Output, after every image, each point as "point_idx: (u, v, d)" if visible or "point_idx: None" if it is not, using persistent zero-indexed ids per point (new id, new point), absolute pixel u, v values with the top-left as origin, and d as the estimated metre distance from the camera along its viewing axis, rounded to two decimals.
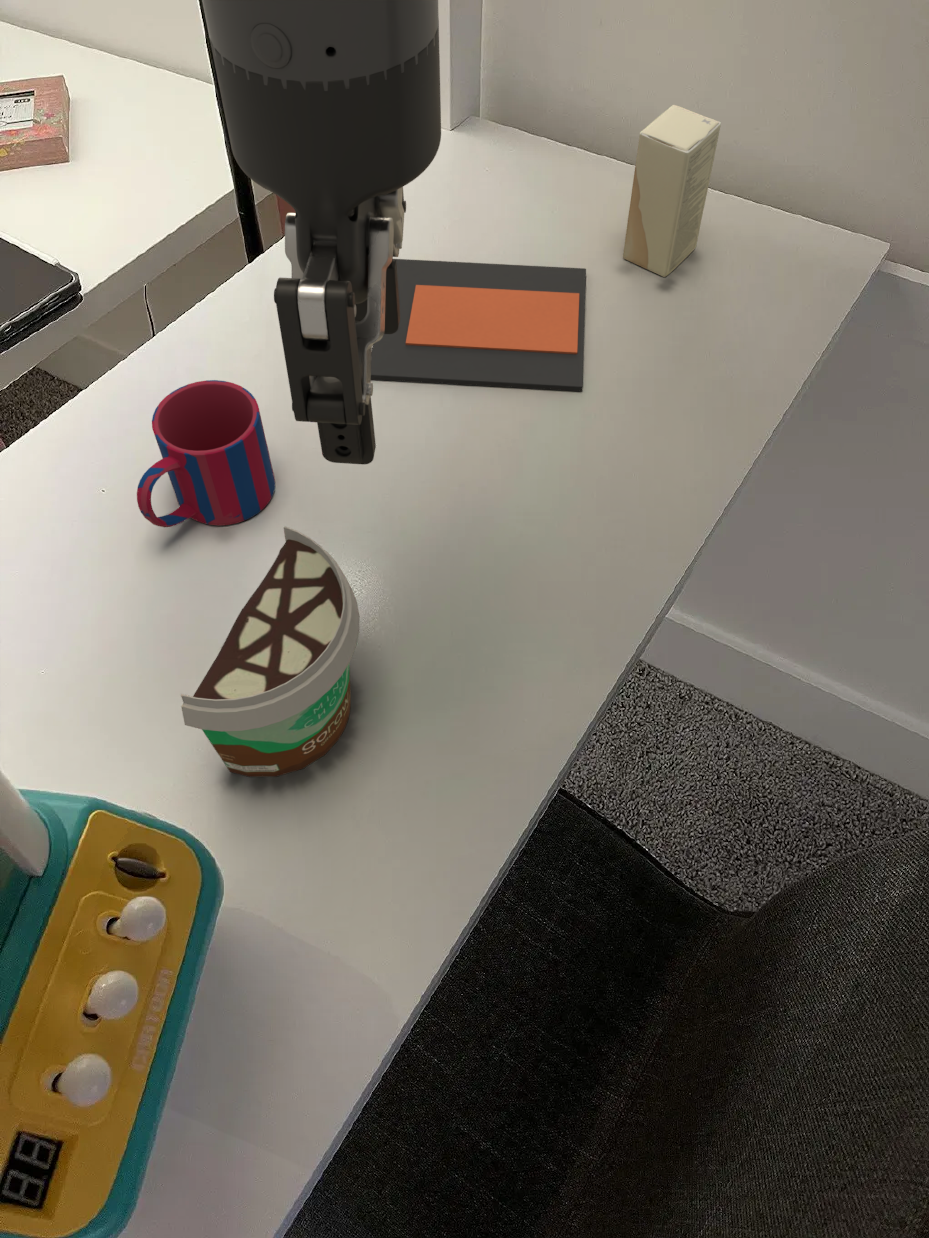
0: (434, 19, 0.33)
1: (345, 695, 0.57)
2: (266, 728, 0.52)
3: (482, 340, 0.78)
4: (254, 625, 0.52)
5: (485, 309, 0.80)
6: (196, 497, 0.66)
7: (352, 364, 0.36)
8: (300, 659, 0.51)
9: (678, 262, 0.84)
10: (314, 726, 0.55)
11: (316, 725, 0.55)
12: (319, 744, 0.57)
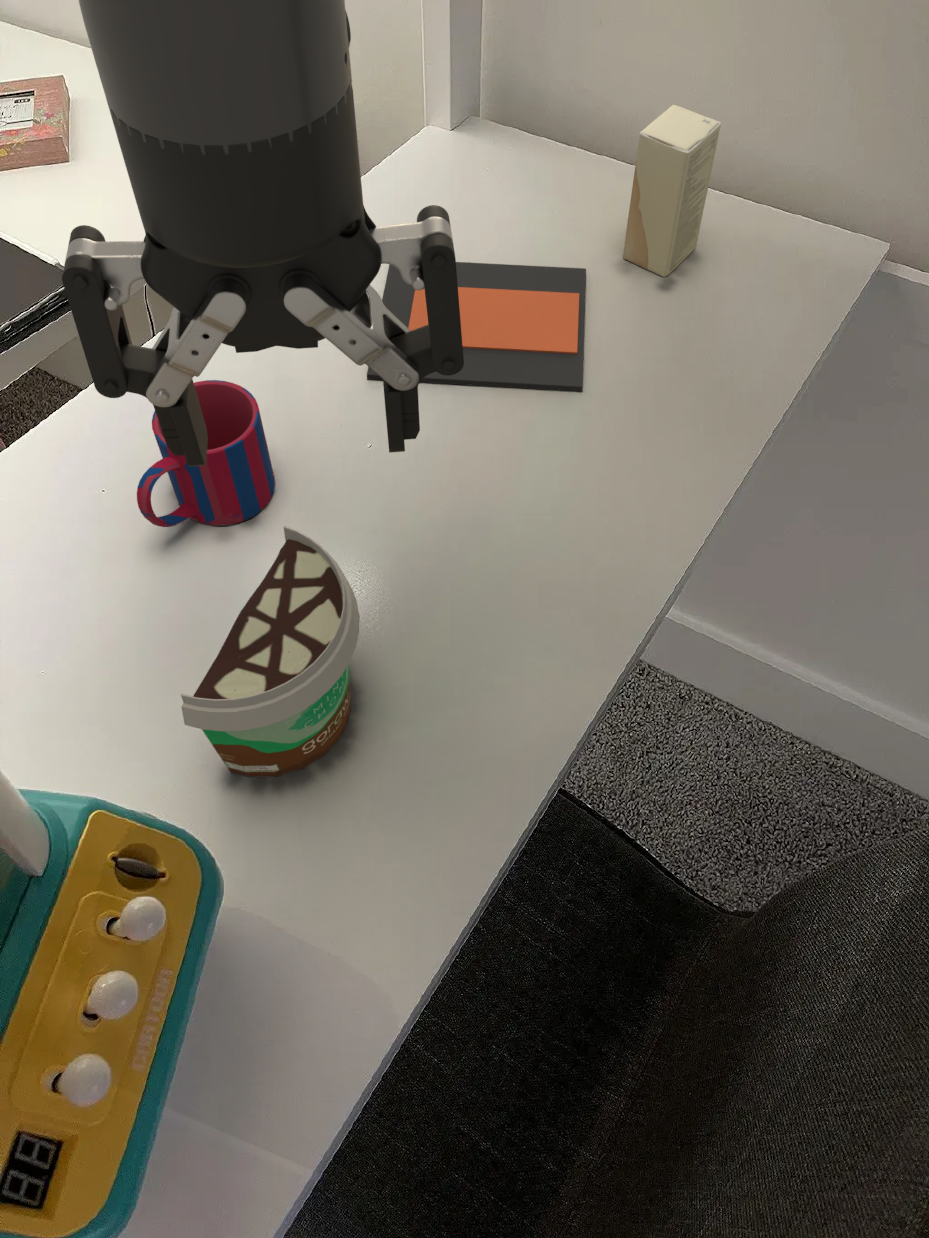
0: (202, 129, 0.29)
1: (345, 695, 0.57)
2: (266, 728, 0.52)
3: (482, 340, 0.78)
4: (254, 625, 0.52)
5: (485, 309, 0.80)
6: (196, 497, 0.66)
7: (81, 335, 0.37)
8: (300, 659, 0.51)
9: (678, 262, 0.84)
10: (314, 726, 0.55)
11: (316, 725, 0.55)
12: (319, 744, 0.57)
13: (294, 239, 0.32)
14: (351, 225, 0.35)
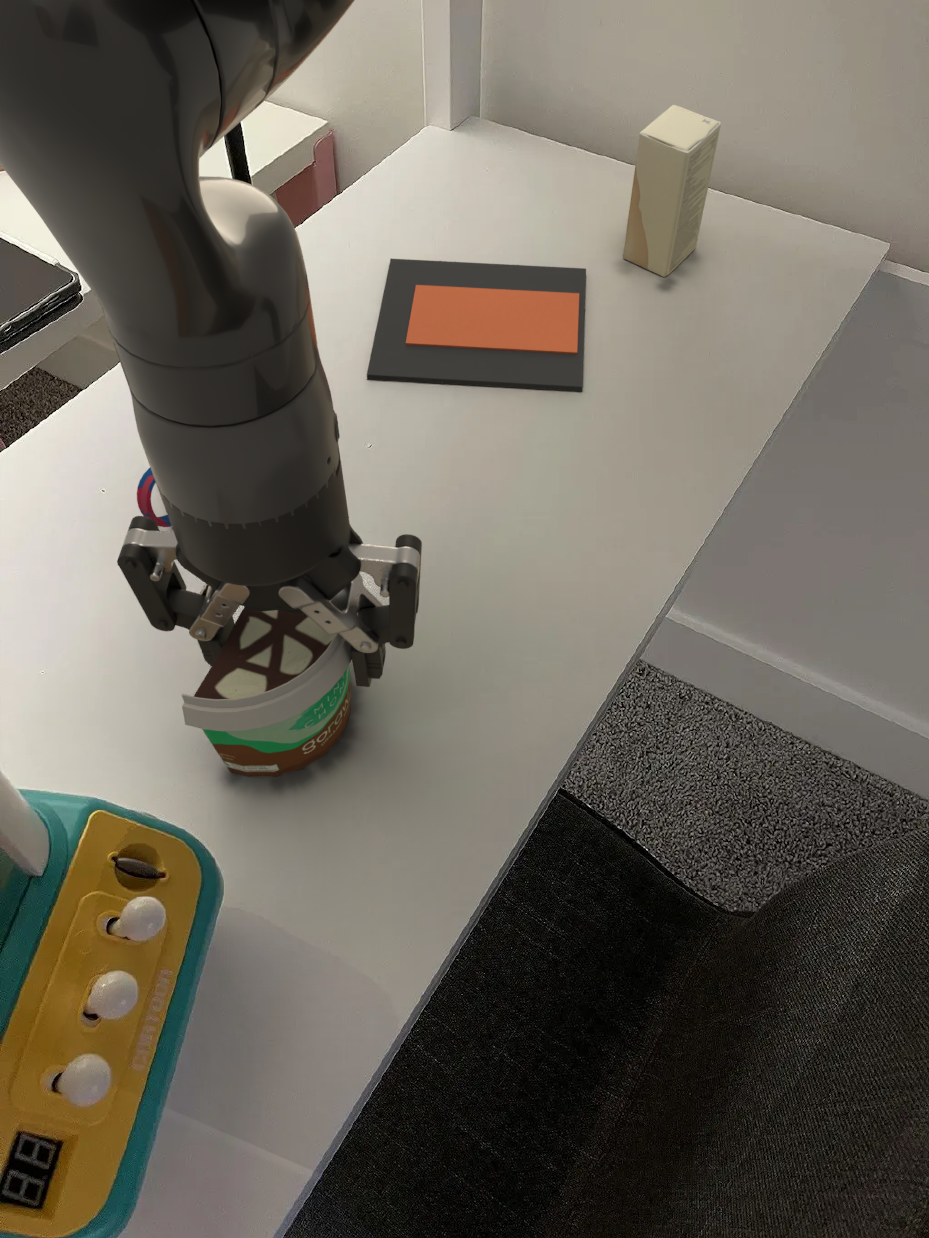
0: (209, 513, 0.39)
1: (345, 695, 0.57)
2: (266, 728, 0.52)
3: (482, 340, 0.78)
4: (255, 625, 0.52)
5: (485, 309, 0.80)
6: None
7: (136, 594, 0.48)
8: (301, 659, 0.51)
9: (678, 262, 0.84)
10: (314, 726, 0.55)
11: (316, 725, 0.55)
12: (319, 744, 0.57)
13: (279, 573, 0.42)
14: None
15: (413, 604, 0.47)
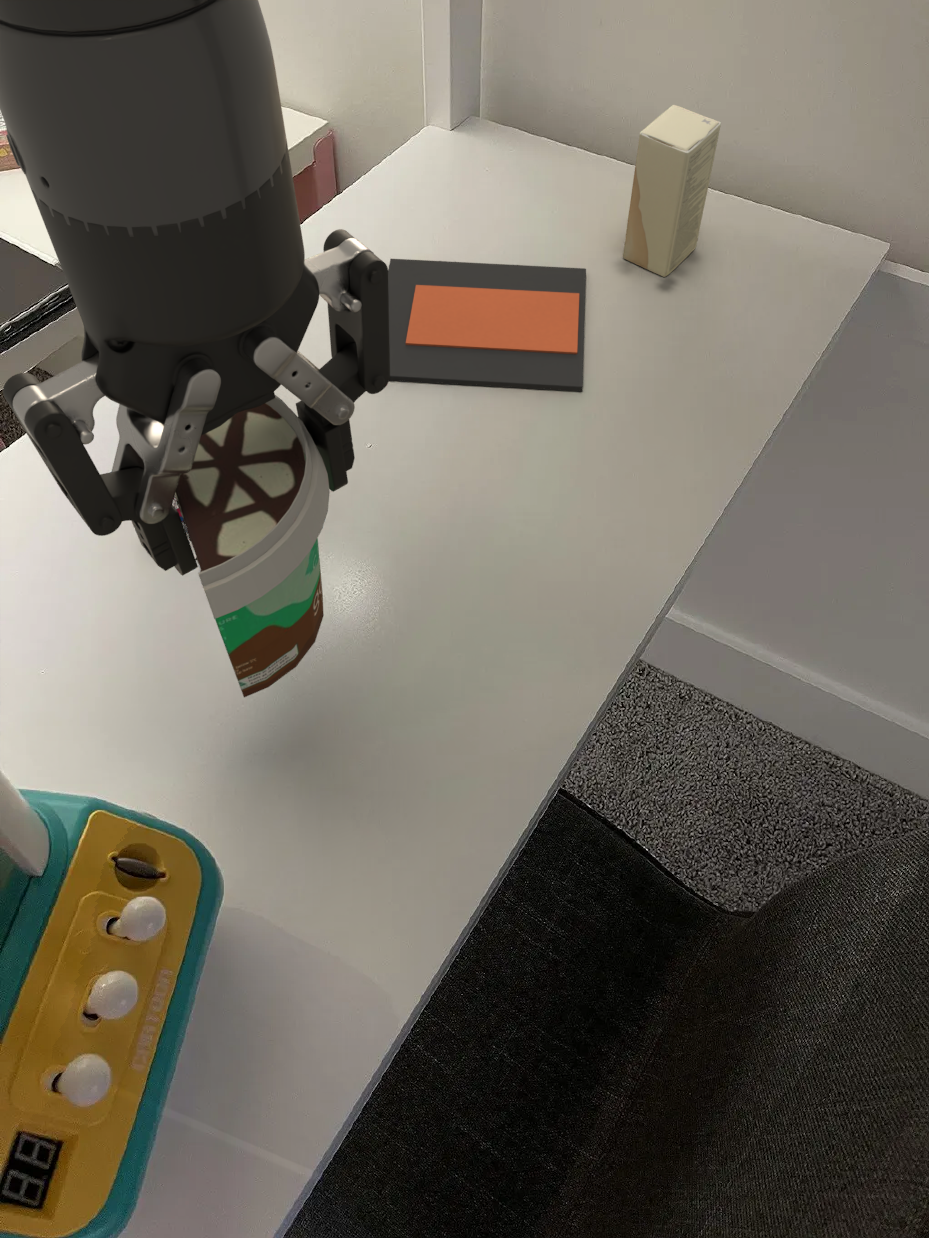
0: (200, 200, 0.28)
1: None
2: (289, 580, 0.41)
3: (482, 340, 0.78)
4: (199, 477, 0.40)
5: (485, 309, 0.80)
6: None
7: (66, 485, 0.34)
8: (280, 475, 0.40)
9: (678, 262, 0.84)
10: (317, 567, 0.44)
11: (317, 565, 0.44)
12: (320, 598, 0.46)
13: (282, 286, 0.32)
14: None
15: (387, 306, 0.38)
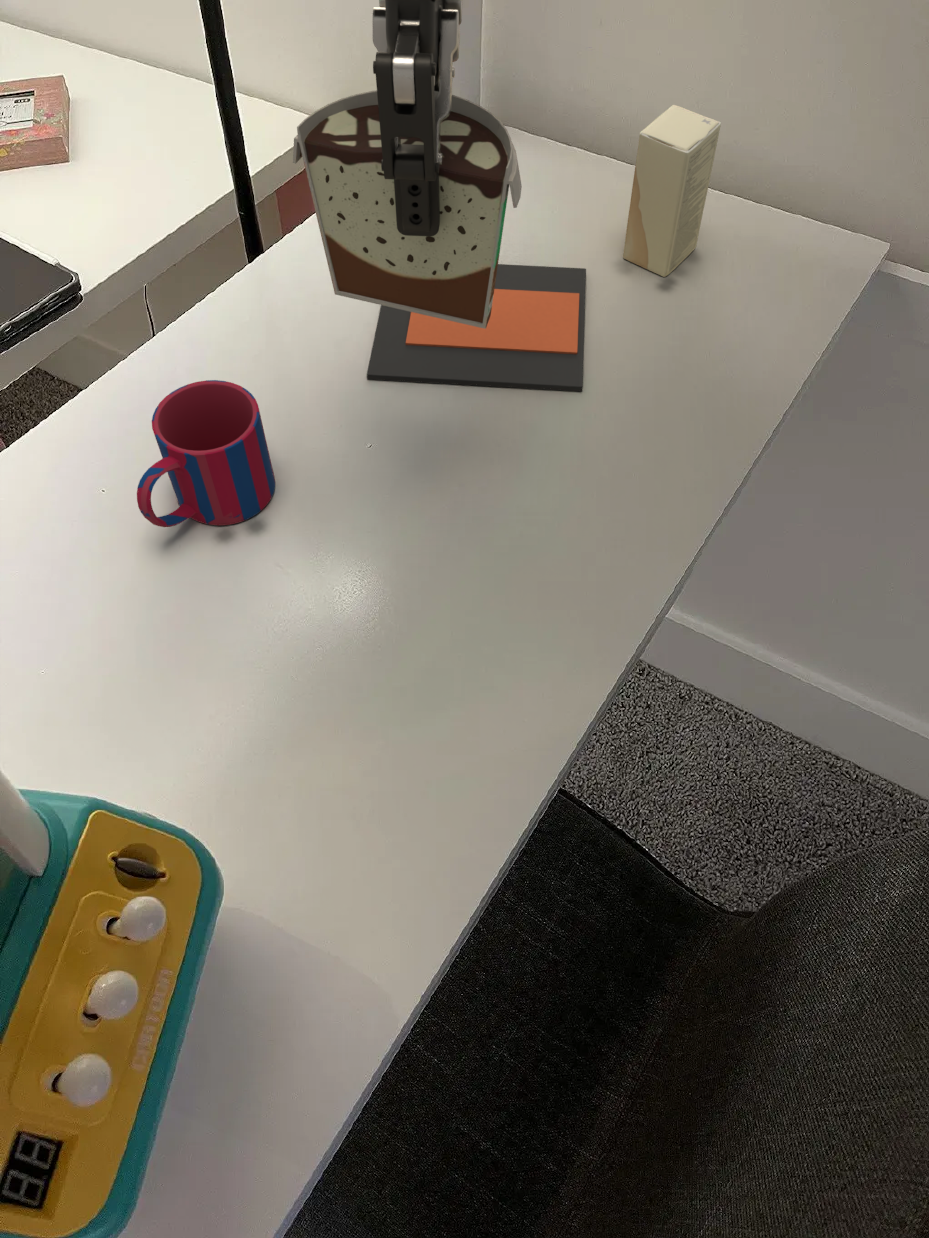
0: None
1: None
2: None
3: (482, 340, 0.78)
4: None
5: None
6: (196, 497, 0.66)
7: (432, 126, 0.46)
8: (453, 126, 0.54)
9: (678, 262, 0.84)
10: None
11: None
12: None
13: None
14: None
15: None
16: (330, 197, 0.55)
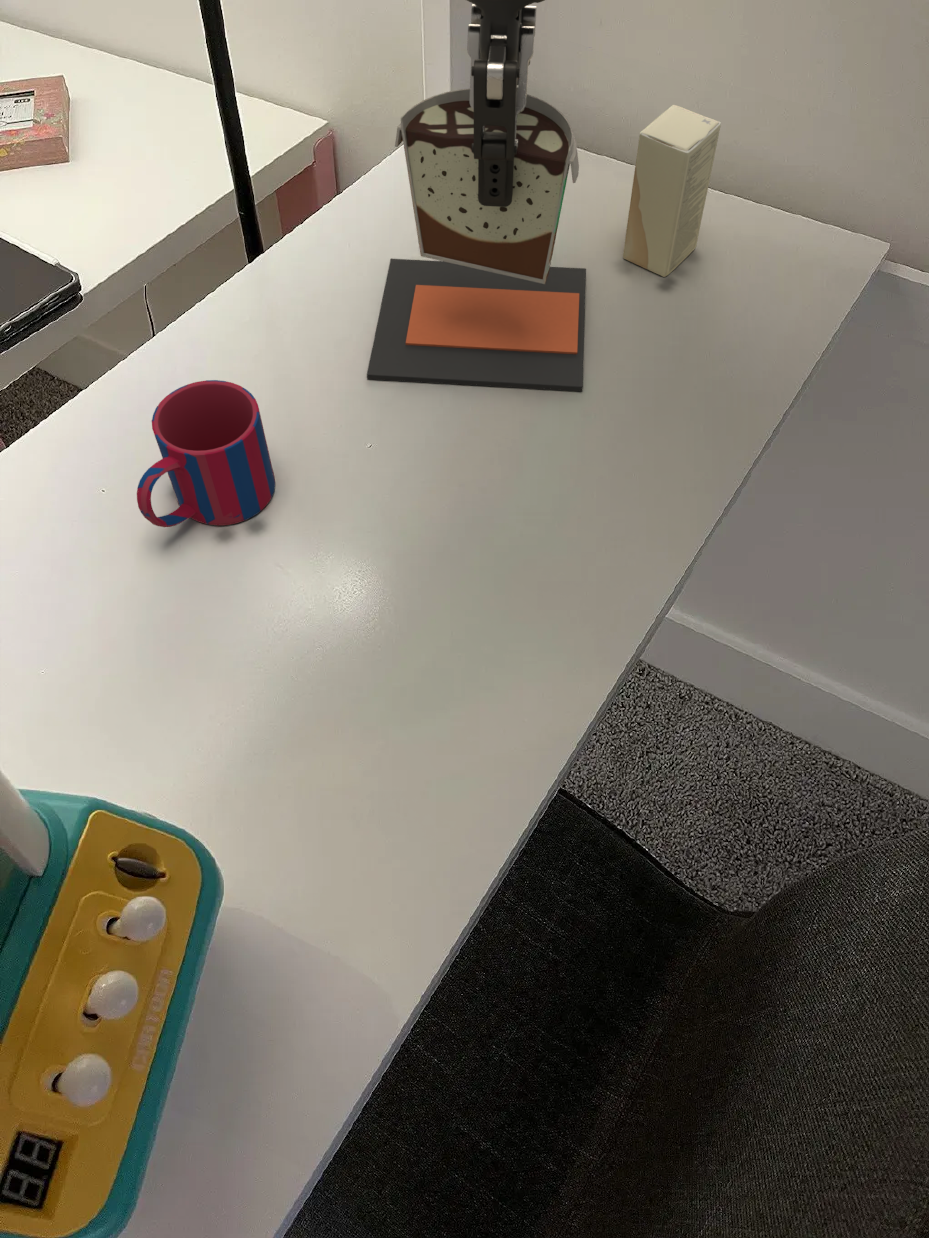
0: None
1: None
2: None
3: (482, 340, 0.78)
4: None
5: (485, 309, 0.80)
6: (196, 497, 0.66)
7: (514, 116, 0.59)
8: (524, 118, 0.67)
9: (678, 262, 0.84)
10: None
11: None
12: None
13: None
14: None
15: None
16: (423, 175, 0.68)
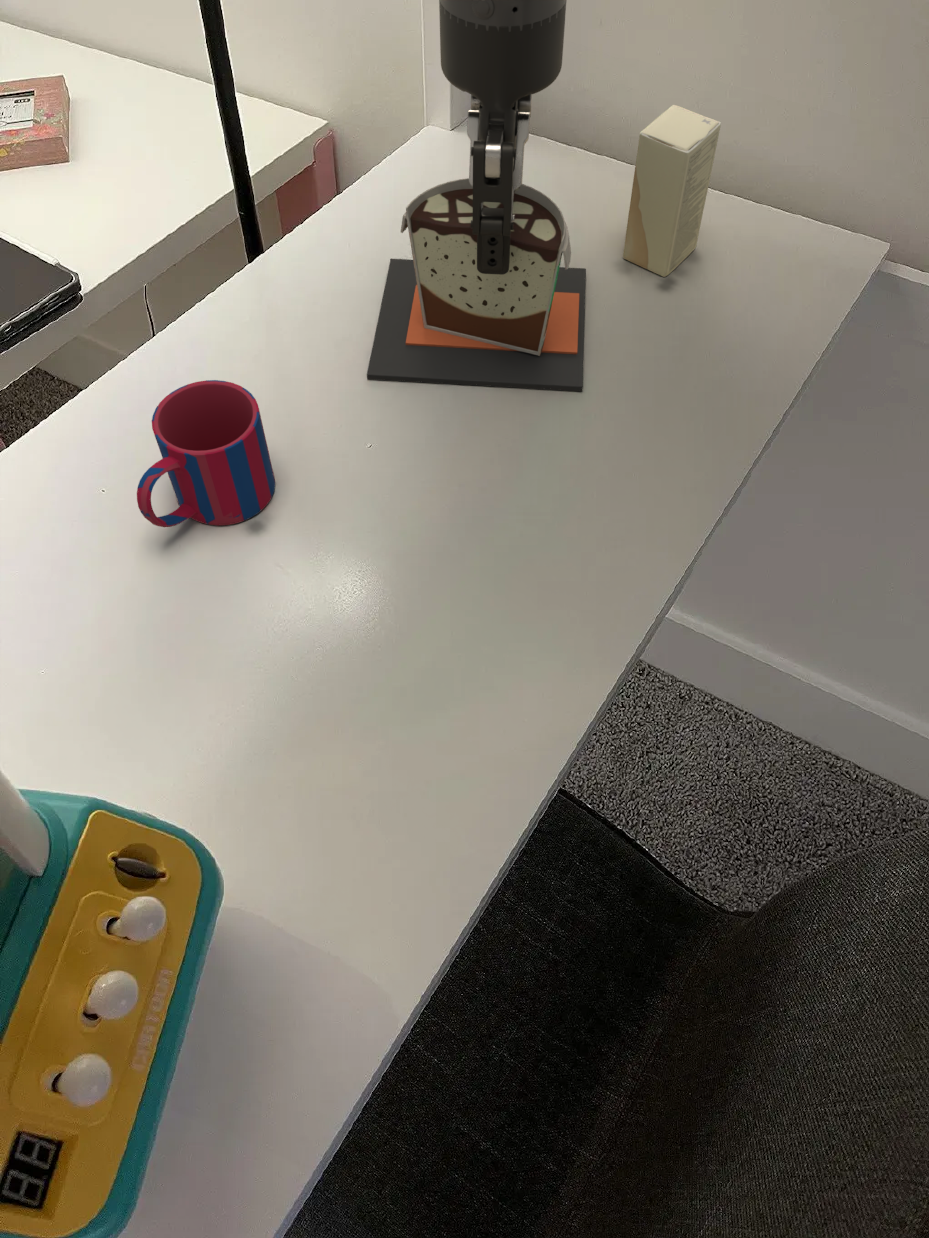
0: None
1: None
2: None
3: None
4: None
5: None
6: (196, 497, 0.66)
7: (511, 194, 0.63)
8: (520, 206, 0.72)
9: (678, 262, 0.84)
10: None
11: None
12: None
13: None
14: None
15: None
16: (427, 257, 0.73)
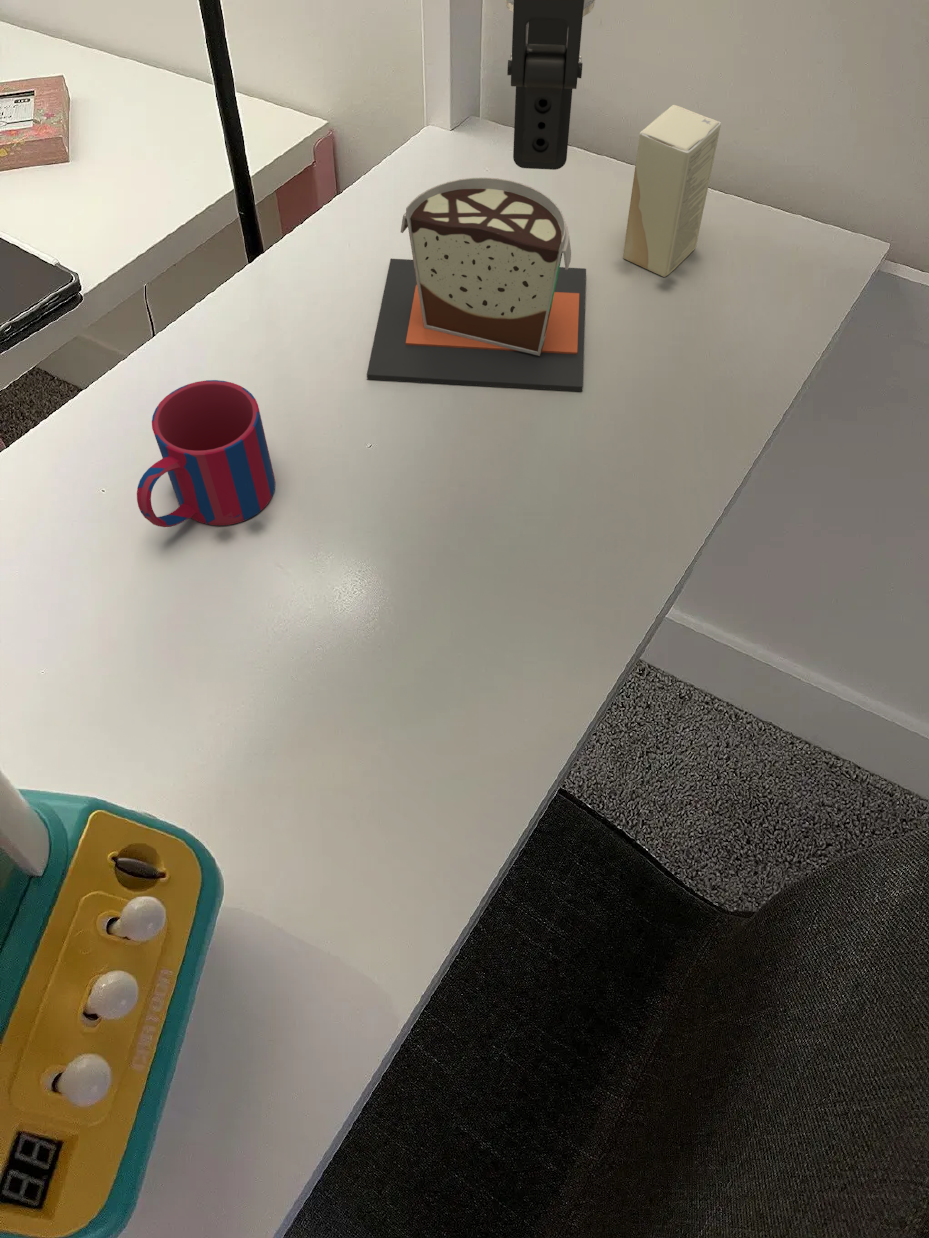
0: None
1: None
2: None
3: None
4: (494, 224, 0.70)
5: None
6: (196, 497, 0.66)
7: (583, 2, 0.35)
8: (520, 206, 0.72)
9: (678, 262, 0.84)
10: None
11: None
12: None
13: None
14: None
15: None
16: (427, 257, 0.73)
